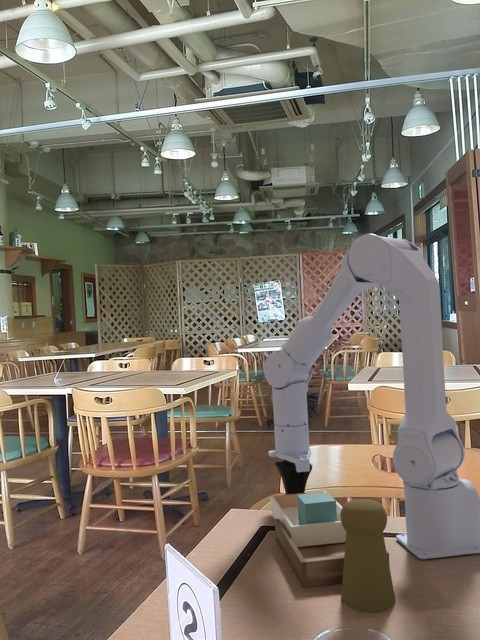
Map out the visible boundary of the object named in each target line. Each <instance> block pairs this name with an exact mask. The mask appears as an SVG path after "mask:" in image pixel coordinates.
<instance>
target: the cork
mask: <svg viewBox="0 0 480 640" xmlns="http://www.w3.org/2000/svg"><path fill="white" fill-rule="evenodd" d="M342 507H343V508H342V509H341V514H340V517H341V522H342V526H343V528H344V529H345V530H346V541H345V554H344V567H343V581H342V583H341V594H340V598H341V602H342V603H343V604H344V605H345V607H348V608H349V609H352V610H356V611H358V612H362V613H363V612H364V613H365V612H366V613H379V612H384V611H386V610H387V611H388V610H390V609H392V608H393V607H394V606H395V604H396V600H397V599H396V595H395V594H396V593H395V591H394V590H395V589H394V584H393V579H392V574H391V566H390V567H389V564H390V561H389V562H388V557H387V552H388V551H387V547H386V542H385V537H384V531H385V529H386V528H387V523H388V514H387V511H386V509H385V507H384V506H383V504H382V503H381V502H378V501H376V500H373V499H368V498H367V499H366V498H358V499H351V500H349V501H347V502H345V503H344V504H343V506H342Z"/></svg>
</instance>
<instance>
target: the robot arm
mask: <svg viewBox="0 0 480 640" xmlns="http://www.w3.org/2000/svg"><path fill="white" fill-rule="evenodd" d="M380 286H381V287H383V288H384V289H385V290H386V291H388V293H390V294H391V295H392V296H394V297H395V298H396V299H397V300H398V301H399V315H400V316H399V317H400V318H399V319H400V320H399V321H400V334H401V335H400V336H401V337H400V338H401V351H402V352H401V355H402V369H403V371H402V372H403V374H402V375H403V386H404V387H403V390H404V403H405V404H404V408H405V413H404V415H403V417H402V420H401V422H400V424H399V426H398V428H397V442H396V445H395V448H394V450H393V454H392V462H393V467H394V469H395V471H396V474H397V475H398V476H399V477H400V478H401V479H402V484H403V490H404V491H403V492H404V494H403V495H404V509H405V527H406V529H405V530H406V531H405V532H406V533H402V534H397V535H396V536H395V538H396V540H397V541H398V542H400V544H402V545H403V546H404V547H405V548H406V549H407V550H409V551H410V552H411V554H413V555H414V556H415V557H416V558H417V559H420V560H430V559H438V558H447V557H455V556H456V557H457V556H462V555H472V554H480V496H479V492H478V490H477V487H476V486H475V485H474V483H473V482H472V481H470V480H469V479H468V478H459V475H458V469H459V468H460V467H461V466H462V465H463V462H464V461H465V455H466V454H465V453H466V452H465V451H466V450H465V446H464V443H463V442H462V440H461V438H460V435H459V434H458V433H459V432H458V429H457V428H458V427H457V422H456V420H455V418H453V416H452V415H451V414H450V413H448V410H447V401H446V400H447V399H446V398H447V397H446V381H445V380H446V379H445V363H444V345H443V327H442V324H443V323H442V310H441V308H442V307H441V292H440V290H441V289H440V283H439V280H438V278H437V277H436V275H435V273H434V272H433V271H432V269H431V267H430V266H429V264H428V262H427V261H426V260H425V258H424V256H423V249H422V248H421V247H419V246H417V245H416V244H415V243H413V242H411V241H409V240H408V239H405V238H394V237H393V238H392V237H388V236H387V237H386V236H380V235H377V234H374V233H365V234H363V235H360V236H359V237H357V238H356V239H355V240H354V242H353V243H352V244H351V246H350V249H349V250H348V251H347V252H346V253H345V254H344V255H343V256H342V259H341V268H340V270H339V272H337V275H336V277H335V278H334V280H333V282H332V283H331V285H330V286H329V288H328V290H327V292H326V293H325V296H324V297H323V298H322V300H321V302H320V303H319V305H318V307H316V308H317V309H316V310H315V312H314V314H313V315H312V316H305V317H303V318H302V319H298V320H297V321H295V322H296V323H295V324H294V327H295V329H294V330H293V332H292V333H291V335H290V336H289V338H288V339H287V340H286V342H284V343H282V345H281V347H280V348H281V349H279V350H278V351H277V352H272V353H270V354H269V355H267V357H266V360H265V362H264V367H263V373H264V378H265V380H266V382H267V383H268V384H269V385H270V386H271V391H272V394H271V395H272V410H273V426H274V427H273V428H274V432H273V433H274V445H275V449H274V450H269V451H268V456H269V457H270V458H279V459H281V460H282V461H276V462H274V465H275V466H276V469H277V471H278V473H279V475H280V477H281V480H282V484H283V488H284V492H285V493H284V494H285V495H288V494H298V493H306V487H307V483H308V479H309V476H310V474H311V472H312V470H313V464H311V463H310V458H311V455H312V449H311V448H310V433H309V431H310V430H309V415H308V414H309V413H308V400H307V399H308V397H307V396H308V395H307V394H308V392H309V382H310V381H311V379H312V377H313V372H314V368H313V367H312V366H313V365H315V362H317V360H318V359H319V357H320V356H321V354H322V353H323V352H324V350H325V349H326V348H327V346H328V345H329V344H330V342H331V341H332V340H333V332H332V327H333V326H334V325H335V324H336V322H337V321H338V320H339V319H340V318H341V316H342V315H343V314H344V313H345V312H346V310H347V309H348V308H349V306H351V304H352V303H353V302H354V300H355V299H356V298H357V297H358V296H359V295H360V293H361V292H362V291H366V290H368V289H371V288H376V287H380Z"/></svg>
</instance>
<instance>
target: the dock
mask: <svg viewBox="0 0 480 640" xmlns="http://www.w3.org/2000/svg"><path fill="white" fill-rule="evenodd" d="M274 525H275V526H274V527H275V529H274V530H275V540H276V542H277V544H278V546H279V547H280V549H281V551H282V553H283V555H284V557H285V558H286V560H287V562H288V564H289V566H290V567H291V569H292V572H293V573H294V575H295V576H296V578H297V580H298V582H299V583H300V586H301V587H302V588H310V587H321V586H331V585H337V584H342V581H343V567H344V554H345V542H341V543H332V544H322V545H313V546H303V547H296V545H295V543H294V542H293V540H292V539H291V537H290V535H289V534H288V532H287V531H286V529H285V527H284V526H283V524H282V523H281V521H280V519H275V518H274ZM387 557H388V562H389V567H390V568H391V566H390V564H391V563H390V553H389V551H387Z"/></svg>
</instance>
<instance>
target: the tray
mask: <svg viewBox="0 0 480 640" xmlns="http://www.w3.org/2000/svg"><path fill="white" fill-rule="evenodd" d="M321 492H327V490H323V491H321V490H320V491H311V492H305V493H298V494H288V495H286V494H281V495H279V494H278V495H270V507H271V508H270V510H271V516H272V517H273V519H274V520H275V519H280V521H281V523H282V524H283V526H284V527H285V529H286V531H287V532H288V534H289V535H290V537H291V539H292V540H293V542H294V543H295V545H296V547H303V546H313V545H322V544H332V543H341V542H345V541H346V530H345V529H344V528H343V526H342V522H341V517H340V514H341V509H342V508H343V506H342V505H341V503H339V502H338V501H337V500H336V510H337V521H335V522H325V523H315V524H305V525H299V522H298V503H297V495H300V494H311V493H321ZM327 493H328V494H329V495H330V496H331V497H332V498H334V497H333V496H332V495H331V494H330V493H329V492H327Z"/></svg>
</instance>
